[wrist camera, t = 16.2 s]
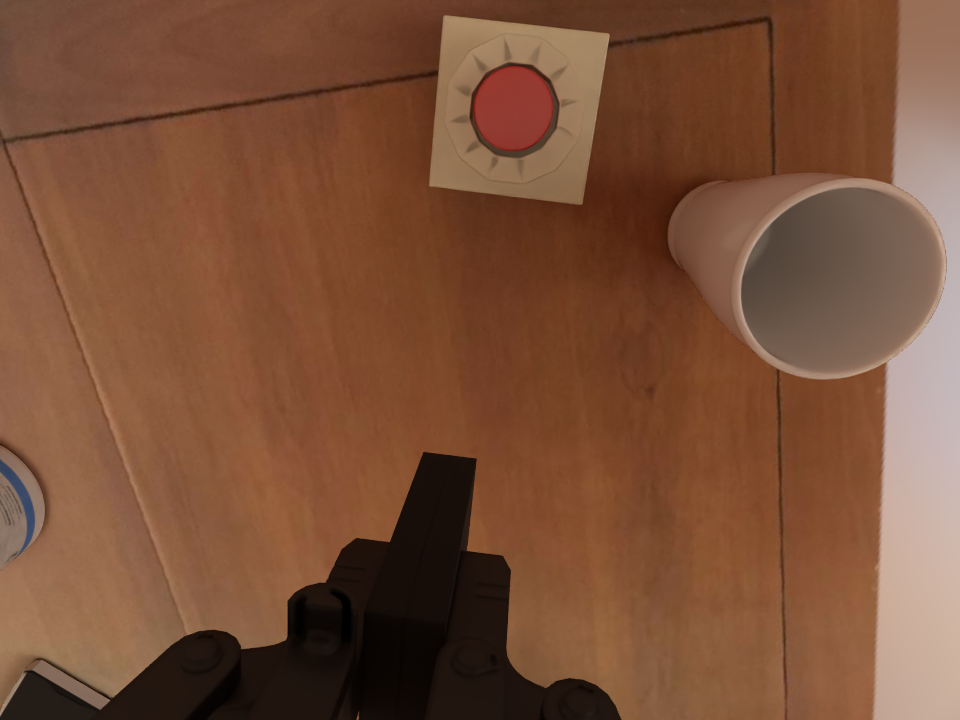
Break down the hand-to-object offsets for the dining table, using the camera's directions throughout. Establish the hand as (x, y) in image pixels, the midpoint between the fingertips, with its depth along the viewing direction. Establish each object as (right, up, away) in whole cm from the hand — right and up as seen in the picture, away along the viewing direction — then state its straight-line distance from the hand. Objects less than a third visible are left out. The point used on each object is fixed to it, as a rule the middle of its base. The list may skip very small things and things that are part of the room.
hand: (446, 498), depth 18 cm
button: (+3, +16, +12) cm, 20 cm away
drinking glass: (+14, +11, +17) cm, 24 cm away
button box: (+3, +17, +16) cm, 23 cm away
